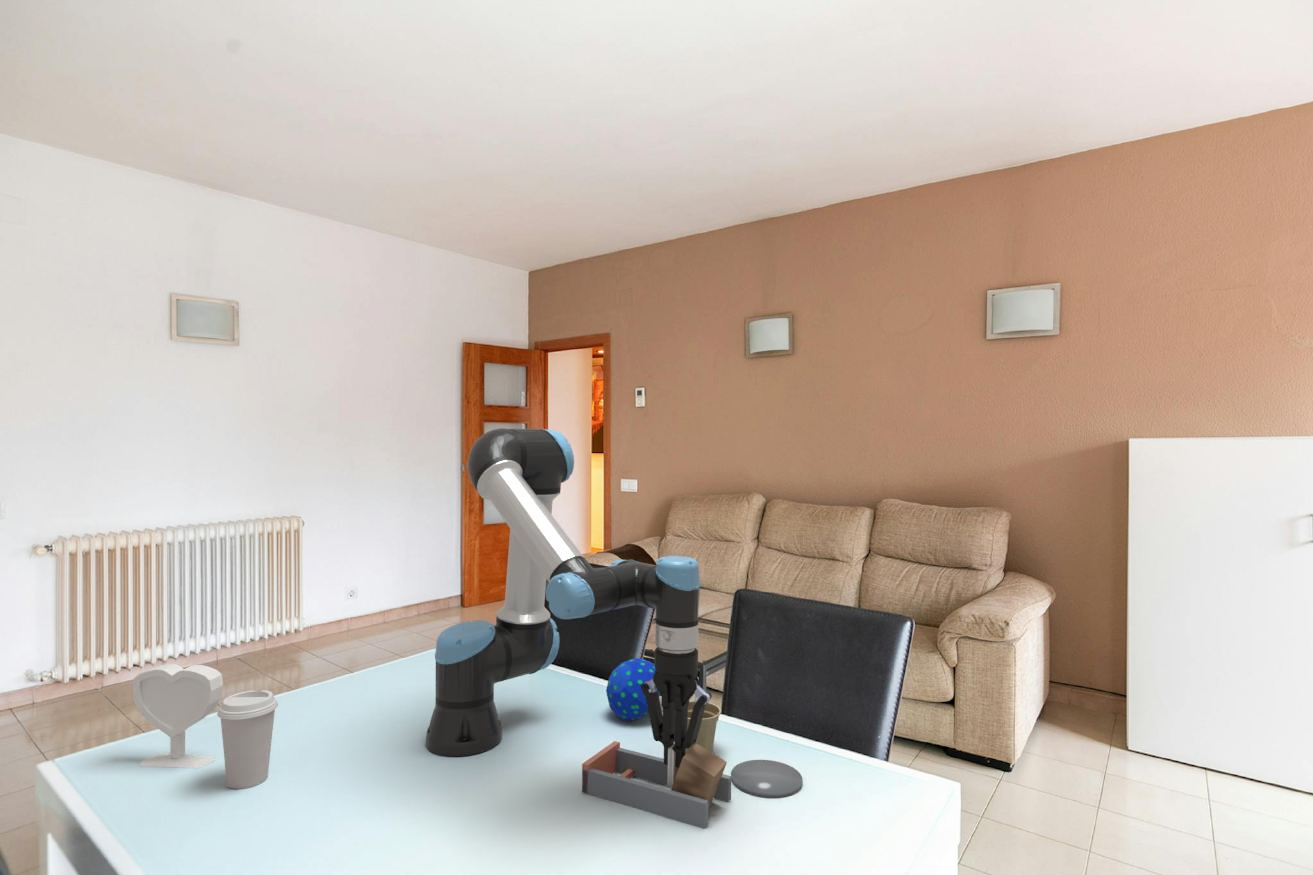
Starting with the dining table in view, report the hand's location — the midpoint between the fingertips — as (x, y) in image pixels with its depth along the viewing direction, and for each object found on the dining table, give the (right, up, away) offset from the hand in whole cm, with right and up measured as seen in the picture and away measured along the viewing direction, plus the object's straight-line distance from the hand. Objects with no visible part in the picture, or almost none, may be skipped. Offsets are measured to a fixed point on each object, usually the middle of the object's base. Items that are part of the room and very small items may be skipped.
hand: (673, 784), depth 123 cm
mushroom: (-8, -3, +38) cm, 39 cm away
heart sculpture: (-95, -2, +13) cm, 96 cm away
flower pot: (+5, -3, +19) cm, 20 cm away
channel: (-3, -3, +2) cm, 5 cm away
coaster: (+17, -3, +8) cm, 19 cm away
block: (+3, -2, -1) cm, 4 cm away
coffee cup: (-77, -3, +6) cm, 78 cm away
